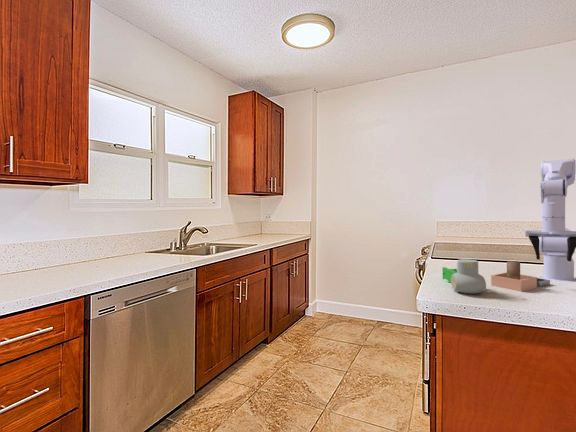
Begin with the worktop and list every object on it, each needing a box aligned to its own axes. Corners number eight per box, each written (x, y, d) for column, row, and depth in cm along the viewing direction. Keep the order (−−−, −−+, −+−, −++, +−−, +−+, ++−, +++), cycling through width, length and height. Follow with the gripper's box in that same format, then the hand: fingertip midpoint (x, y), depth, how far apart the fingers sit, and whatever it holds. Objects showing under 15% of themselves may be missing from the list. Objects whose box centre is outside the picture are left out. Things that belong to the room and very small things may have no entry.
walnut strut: (506, 284, 108) (506, 261, 108) (520, 286, 106) (520, 261, 106) (506, 287, 105) (506, 262, 105) (520, 288, 103) (520, 263, 103)
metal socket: (528, 282, 112) (528, 276, 112) (549, 286, 107) (550, 280, 107) (517, 284, 109) (517, 278, 109) (539, 288, 104) (539, 282, 104)
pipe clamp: (465, 286, 109) (465, 273, 109) (454, 286, 110) (454, 273, 110) (452, 279, 120) (452, 266, 120) (442, 279, 121) (442, 266, 121)
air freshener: (449, 287, 109) (449, 257, 108) (476, 288, 107) (476, 258, 106) (457, 295, 98) (457, 263, 98) (488, 297, 96) (488, 264, 96)
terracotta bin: (506, 283, 111) (506, 272, 111) (536, 289, 103) (536, 277, 103) (491, 287, 107) (491, 275, 107) (520, 293, 99) (520, 280, 99)
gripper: (525, 217, 103) (525, 260, 103) (586, 218, 95) (586, 263, 95) (524, 217, 109) (524, 257, 109) (581, 217, 101) (581, 260, 101)
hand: (553, 259), depth 103 cm, fingers open, 7 cm apart
